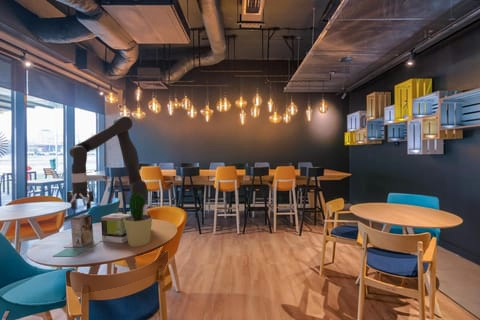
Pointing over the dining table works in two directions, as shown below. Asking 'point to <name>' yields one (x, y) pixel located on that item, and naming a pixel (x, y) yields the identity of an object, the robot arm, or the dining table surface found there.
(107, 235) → the tea box
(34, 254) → the dining table surface
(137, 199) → the potted cactus
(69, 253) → the mat
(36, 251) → the dining table surface
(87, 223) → the coffee box
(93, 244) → the plate
